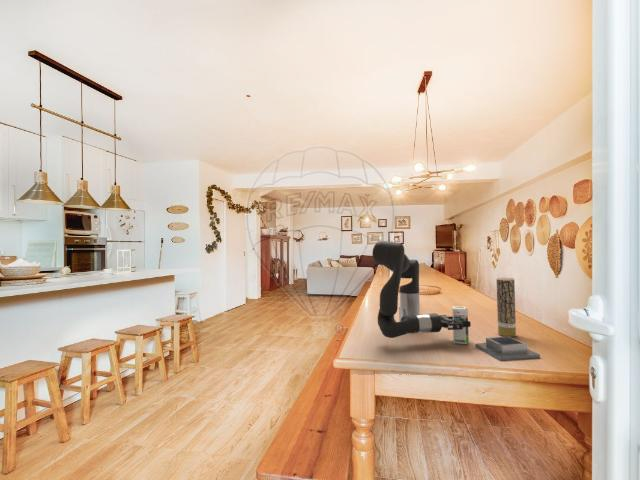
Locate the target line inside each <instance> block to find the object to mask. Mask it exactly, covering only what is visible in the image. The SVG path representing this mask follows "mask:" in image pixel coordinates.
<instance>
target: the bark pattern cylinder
mask: <svg viewBox="0 0 640 480" xmlns="http://www.w3.org/2000/svg"><path fill="white" fill-rule="evenodd" d="M495 280H496V306H497V307H496V308H497V309H496V310H497V333H498V335H499V336H500V337H506V336H509V337H512V338H514V337H516V336H517V330H516V329H517V328H516V327H517V325H516V294H515V293H516V292H515V291H516V290H515V286H516V285H515V277H508V276H507V277H505V276H504V277H502V276H501V277H496V279H495Z"/></svg>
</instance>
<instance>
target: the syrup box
mask: <svg viewBox="0 0 640 480" xmlns="http://www.w3.org/2000/svg"><path fill="white" fill-rule="evenodd" d="M451 309H452V311H451V312H452V316H453V319H454V320H456V321H469V319H468V318H469V310H468V307H467V306H459V305H458V306H453V305H452V308H451ZM457 326H459V325H457ZM452 331H453V332H452V334H453V335H452V336H453V344H460V345H461V344H462V345H469V344H470V343H469V341H470V338H469V336H470V335H469V327H463V329H462V330H452Z"/></svg>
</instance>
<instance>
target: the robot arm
mask: <svg viewBox="0 0 640 480" xmlns="http://www.w3.org/2000/svg"><path fill="white" fill-rule="evenodd" d="M372 259H373V261H374V263H375V264H376V265H379V266H384V267H385V268H386V269H389V271H391V272H392V274H391V275H390V277H389V279H388V280H387V281H386V283H385V284H384V285H383V287H382V288H381V290H380V292H379V309H378V313H377V325H378V327H379V328H380V329H379V330H380V331H381V333H382V335H383V336H384V337H386V338H388V339H394V338H398V337H401V336H404V335H407V334H417V333H418V334H419V333H420V334H426V333H427V334H428V333H439V332H441V331H442V328H444V329H447V330H449V331H453V330H462V329H463V327H468V328H470V327H471V326H472V325H471V321H470V320H468V321H456V320H454V319H453V315H451V316H450V315H447V314H440V315H439V314H438V313H436V312H435V313H421V308H420V307H421V306H420V305H421V304H420V263H419V261H418V259H409V257H408V256H407V255H406V253H405V247H404V245H403V243H401V242H398V241H397V242H396V241H388V240H380V241H377V242H376V243H375V244H374V246H373V248H372ZM401 279H411V281H410V282H408V283H405V284H403V285H400V283H401ZM398 304H399V307H398ZM397 312H398V315H399V316H398V318H399V319H398V320H399V321H396V320H395V315H396V314H397ZM457 325H459V326H457Z"/></svg>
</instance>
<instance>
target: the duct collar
mask: <svg viewBox="0 0 640 480" xmlns="http://www.w3.org/2000/svg"><path fill="white" fill-rule="evenodd" d="M475 348H477V349H479V350H480V351H482V352H484V353H486V354H488V355H489V356H491V357H493V358H495V359H497V360H498V361H501V362H502V361H513V360H515V361H517V360H531V359H533V360H534V359H541V354H539V353H538V352H536V351H533V350H531V349H529V348H528V344H527V343H525V342H523V341H520V340H519V339H517V338H514V337H509V336H506V337H505V336H494V337H493V336H492V337H491V336H490V337H485V342H482V343H475Z"/></svg>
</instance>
